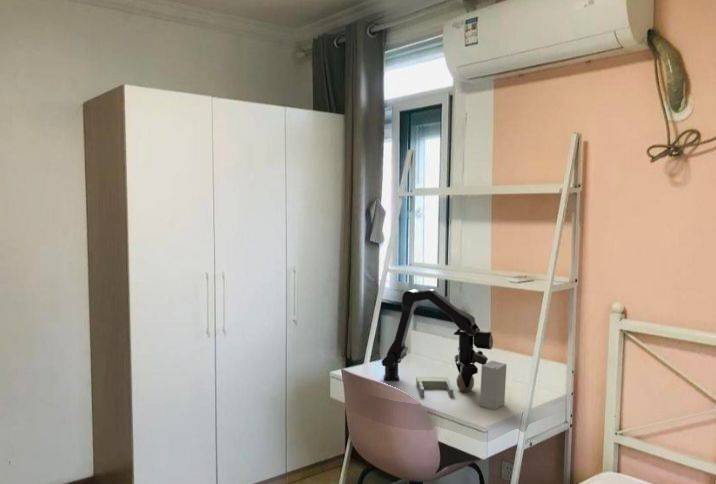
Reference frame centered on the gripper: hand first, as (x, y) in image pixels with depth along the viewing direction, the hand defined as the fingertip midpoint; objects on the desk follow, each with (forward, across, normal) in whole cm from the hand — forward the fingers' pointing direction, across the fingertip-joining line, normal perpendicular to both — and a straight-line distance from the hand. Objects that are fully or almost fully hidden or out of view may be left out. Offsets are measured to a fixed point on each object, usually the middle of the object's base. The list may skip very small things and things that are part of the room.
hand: (465, 384), depth 229 cm
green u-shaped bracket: (+2, -1, +12) cm, 13 cm away
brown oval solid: (+2, 0, 0) cm, 2 cm away
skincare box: (+2, -18, -7) cm, 19 cm away
